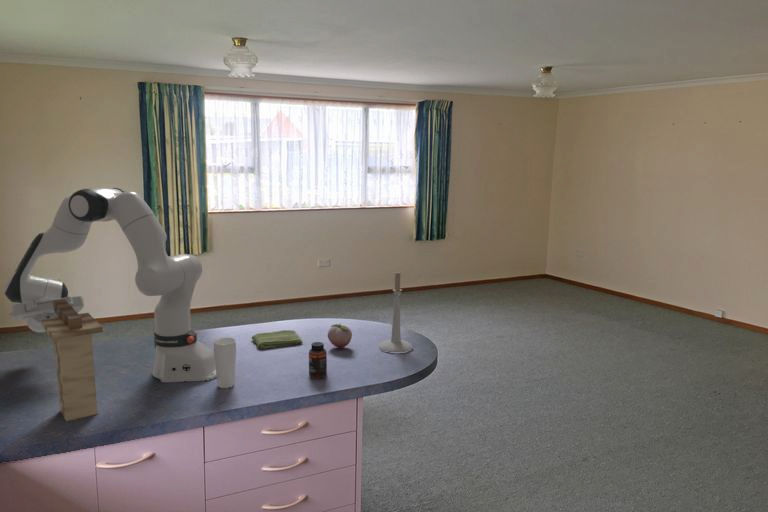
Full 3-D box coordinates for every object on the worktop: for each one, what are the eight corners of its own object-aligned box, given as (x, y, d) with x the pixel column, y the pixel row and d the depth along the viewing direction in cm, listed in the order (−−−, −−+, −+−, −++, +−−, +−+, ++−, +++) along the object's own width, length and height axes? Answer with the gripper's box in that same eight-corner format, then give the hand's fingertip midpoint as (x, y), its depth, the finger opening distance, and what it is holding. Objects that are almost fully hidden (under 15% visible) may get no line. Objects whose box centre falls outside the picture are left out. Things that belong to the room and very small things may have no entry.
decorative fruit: (356, 347, 223) (357, 322, 221) (343, 353, 216) (344, 327, 215) (336, 342, 228) (337, 317, 226) (323, 348, 221) (323, 323, 219)
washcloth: (304, 345, 226) (304, 337, 225) (258, 351, 218) (258, 343, 217) (294, 335, 237) (294, 327, 236) (250, 340, 230) (250, 332, 229)
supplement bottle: (329, 373, 198) (329, 342, 196) (322, 380, 192) (322, 347, 190) (313, 371, 200) (313, 339, 197) (305, 377, 194) (305, 345, 192)
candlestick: (389, 356, 215) (391, 276, 210) (373, 345, 226) (374, 269, 220) (418, 350, 222) (421, 273, 216) (401, 340, 233) (403, 266, 227)
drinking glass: (217, 381, 190) (215, 337, 187) (238, 381, 190) (237, 337, 187) (212, 390, 183) (211, 344, 180) (235, 390, 184) (233, 344, 181)
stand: (49, 407, 169) (41, 319, 164) (94, 397, 176) (88, 312, 171) (61, 429, 157) (52, 335, 152) (109, 417, 164) (102, 326, 159)
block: (53, 310, 173) (52, 300, 172) (65, 308, 175) (64, 298, 174) (69, 329, 156) (69, 319, 155) (82, 327, 158) (81, 317, 157)
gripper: (6, 307, 187) (10, 296, 177) (77, 298, 200) (84, 287, 190) (9, 326, 186) (14, 316, 176) (80, 316, 199) (88, 306, 189)
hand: (51, 301), depth 183 cm, fingers open, 8 cm apart
